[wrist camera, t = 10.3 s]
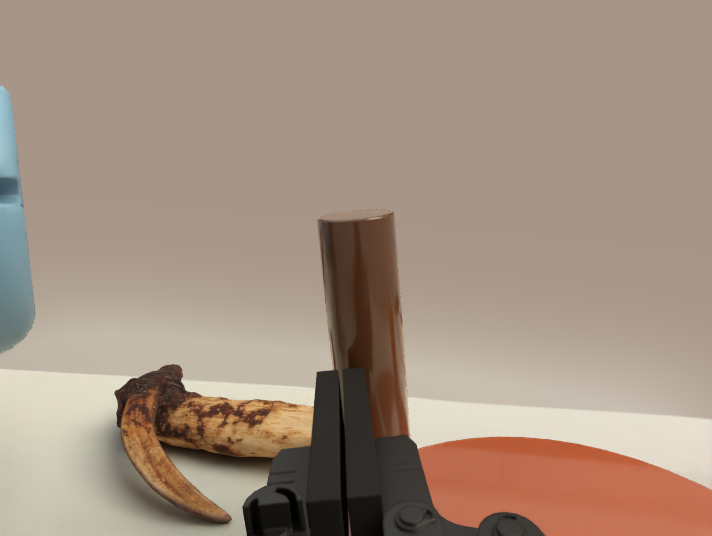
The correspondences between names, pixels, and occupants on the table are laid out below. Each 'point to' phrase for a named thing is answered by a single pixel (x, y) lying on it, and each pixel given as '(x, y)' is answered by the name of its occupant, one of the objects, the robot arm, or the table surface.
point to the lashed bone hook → (200, 432)
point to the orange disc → (489, 454)
